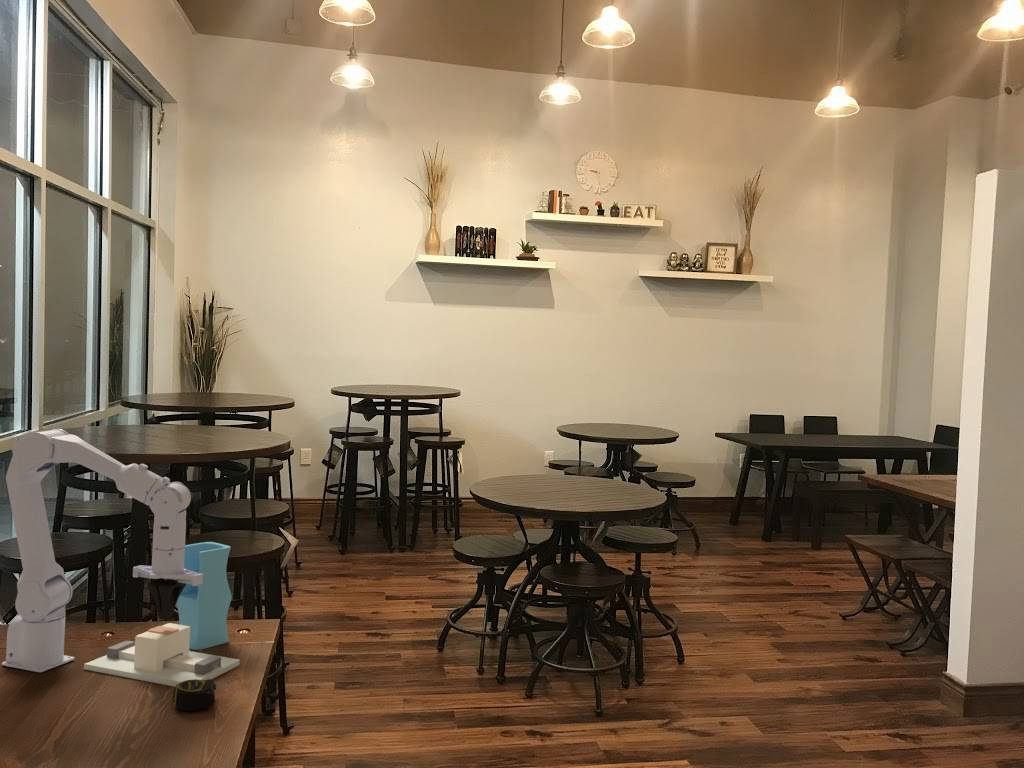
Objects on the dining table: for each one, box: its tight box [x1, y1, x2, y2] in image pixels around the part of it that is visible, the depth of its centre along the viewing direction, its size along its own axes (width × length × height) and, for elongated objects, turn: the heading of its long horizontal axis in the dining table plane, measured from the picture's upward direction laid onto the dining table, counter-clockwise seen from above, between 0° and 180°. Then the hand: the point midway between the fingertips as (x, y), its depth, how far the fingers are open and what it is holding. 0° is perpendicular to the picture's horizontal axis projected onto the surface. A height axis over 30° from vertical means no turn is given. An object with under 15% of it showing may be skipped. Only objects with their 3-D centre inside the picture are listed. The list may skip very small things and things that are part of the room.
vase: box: [176, 541, 232, 651], centre depth 173 cm, size 8×8×20 cm
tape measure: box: [172, 679, 217, 712], centre depth 140 cm, size 7×7×4 cm
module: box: [134, 622, 190, 672], centre depth 157 cm, size 5×9×6 cm, turn 163°
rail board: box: [83, 640, 241, 688], centre depth 158 cm, size 24×14×3 cm, turn 73°
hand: (165, 618), depth 157 cm, fingers closed
